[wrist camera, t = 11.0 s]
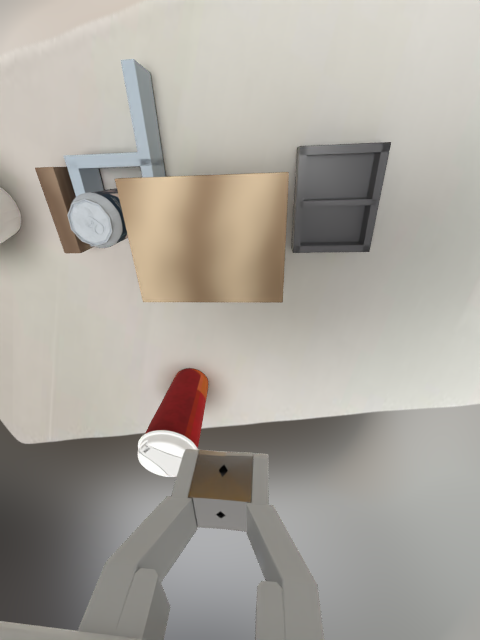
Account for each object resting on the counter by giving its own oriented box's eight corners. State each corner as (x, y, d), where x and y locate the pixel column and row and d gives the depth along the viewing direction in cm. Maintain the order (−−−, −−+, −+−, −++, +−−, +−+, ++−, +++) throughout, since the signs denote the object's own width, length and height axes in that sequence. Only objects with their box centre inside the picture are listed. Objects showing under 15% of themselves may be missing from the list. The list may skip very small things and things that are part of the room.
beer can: (134, 176, 33) (73, 180, 22) (168, 202, 34) (126, 218, 23) (118, 209, 35) (55, 228, 24) (150, 233, 36) (104, 261, 25)
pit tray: (382, 144, 29) (391, 142, 27) (362, 246, 35) (369, 251, 32) (297, 147, 30) (299, 146, 28) (291, 247, 35) (292, 252, 33)
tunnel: (278, 170, 31) (288, 172, 18) (275, 253, 36) (282, 303, 23) (176, 174, 32) (114, 178, 19) (186, 254, 37) (143, 302, 24)
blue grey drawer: (150, 72, 28) (133, 59, 24) (174, 237, 36) (164, 245, 32) (64, 78, 28) (36, 66, 25) (107, 238, 36) (90, 246, 33)
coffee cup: (160, 381, 49) (122, 460, 36) (185, 354, 45) (154, 430, 32) (197, 405, 51) (175, 487, 38) (224, 381, 48) (210, 462, 35)
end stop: (81, 167, 33) (52, 167, 28) (102, 242, 37) (80, 252, 33) (65, 167, 33) (34, 167, 28) (88, 243, 37) (64, 253, 33)
